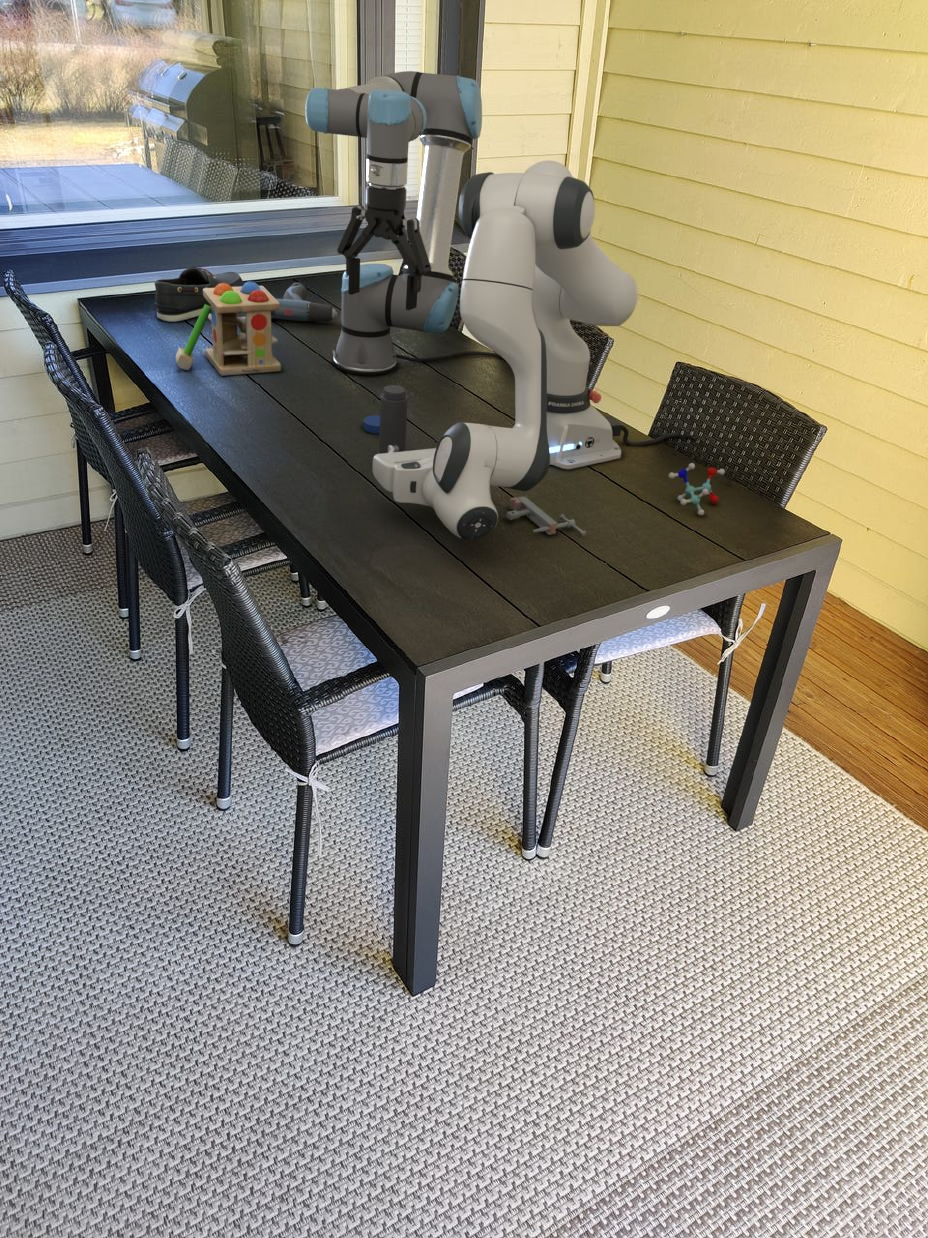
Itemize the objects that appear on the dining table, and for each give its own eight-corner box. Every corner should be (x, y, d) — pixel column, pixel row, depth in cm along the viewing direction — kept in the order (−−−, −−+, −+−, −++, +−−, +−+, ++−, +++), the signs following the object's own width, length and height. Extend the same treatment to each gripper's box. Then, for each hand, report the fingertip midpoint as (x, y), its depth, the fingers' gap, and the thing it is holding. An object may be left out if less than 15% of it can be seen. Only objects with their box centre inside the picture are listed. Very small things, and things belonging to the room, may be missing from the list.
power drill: (344, 304, 276) (335, 327, 259) (277, 298, 275) (264, 321, 258) (344, 285, 273) (335, 306, 256) (277, 279, 272) (264, 300, 255)
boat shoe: (262, 300, 274) (260, 262, 268) (174, 323, 250) (170, 282, 245) (229, 292, 279) (226, 254, 274) (139, 314, 256) (134, 273, 250)
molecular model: (729, 509, 182) (714, 457, 180) (679, 523, 185) (663, 472, 184) (733, 500, 192) (719, 451, 191) (686, 514, 196) (671, 466, 194)
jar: (388, 473, 191) (392, 396, 182) (373, 463, 194) (375, 386, 185) (409, 467, 193) (413, 391, 185) (393, 457, 196) (397, 382, 188)
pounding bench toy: (183, 379, 220) (176, 299, 210) (169, 357, 231) (162, 280, 221) (282, 371, 230) (280, 294, 220) (264, 350, 240) (262, 276, 230)
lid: (393, 425, 210) (394, 417, 209) (386, 435, 205) (387, 427, 204) (367, 421, 210) (367, 413, 209) (360, 431, 206) (360, 423, 205)
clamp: (496, 500, 180) (542, 491, 184) (495, 510, 181) (540, 501, 185) (542, 538, 169) (588, 528, 174) (540, 549, 170) (586, 539, 175)
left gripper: (319, 175, 183) (319, 290, 195) (432, 199, 174) (425, 319, 185) (343, 170, 189) (342, 283, 200) (454, 194, 179) (446, 310, 191)
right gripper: (500, 457, 170) (470, 425, 180) (387, 469, 163) (363, 435, 173) (496, 490, 174) (467, 456, 184) (386, 503, 167) (363, 467, 177)
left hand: (382, 300), depth 193 cm, fingers open, 13 cm apart
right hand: (416, 446), depth 179 cm, fingers open, 8 cm apart
